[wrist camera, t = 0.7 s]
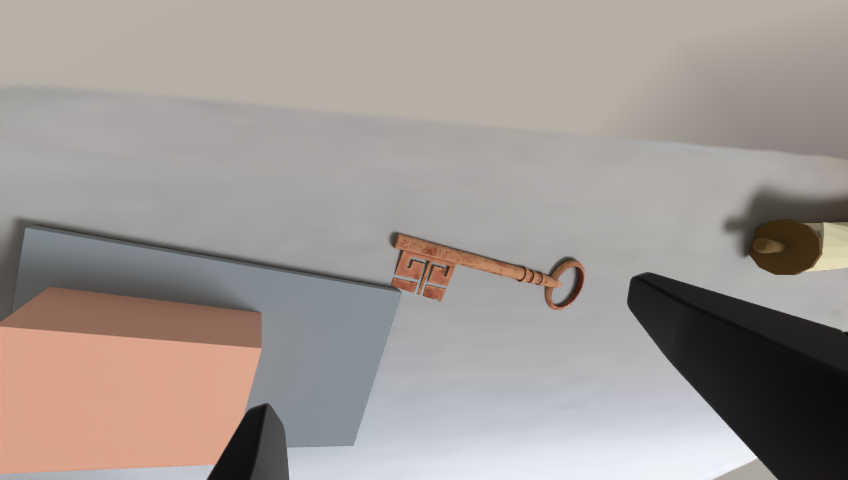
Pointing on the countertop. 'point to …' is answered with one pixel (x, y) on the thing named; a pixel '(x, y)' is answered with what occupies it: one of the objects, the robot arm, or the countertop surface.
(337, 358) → the mat
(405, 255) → the key
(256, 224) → the countertop surface
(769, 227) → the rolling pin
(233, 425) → the card box
